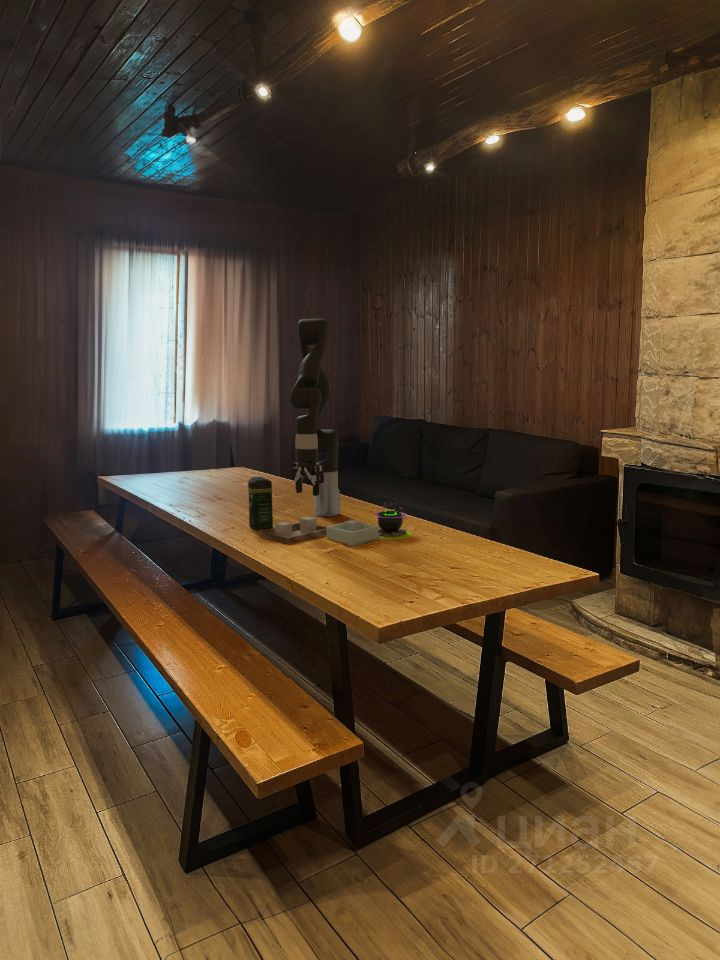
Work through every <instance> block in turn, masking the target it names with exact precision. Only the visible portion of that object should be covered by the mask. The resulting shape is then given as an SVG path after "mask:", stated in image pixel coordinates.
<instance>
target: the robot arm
mask: <svg viewBox="0 0 720 960" xmlns="http://www.w3.org/2000/svg"><path fill="white" fill-rule="evenodd" d="M330 332H331V331H330V325H329V322H328V320H327V319H326V318H306V319H305V318H304V319H300V320H299V321H298V324H297V338H298V344H299V348H300V349H299V350H300V355H301V362H300V365H299V369H298V370H299V371H298V377H297V380H296V382H295V384H294V385H293V386H292V389H291V391H290V395H289V403H290V405H291V406H292V408H294V409H298V410H299V409H300V410H301V409H303V410H305V409H306V410H307V414H305V415H300V416H297V417H296V419H295V434H296V435H295V443H294V444H295V461H296V462H291V464H290V479H291V480H292V481H294V483H295V492H296V494H301V493H303V482H302V481H303V480H304V478H305V477H306V478H308V479H309V480H310V481H311V483H312V495H313V501H314V502H313V503H314V504H313V505H314V508H313V509H314V516H317V517H327V518H328V517H335V516H338V515H339V514H341V490H340V489H339V481H338V480H339V476H338V475H339V474H338V473H339V472H338V470H339V469H338V466H339V433H338V432H337V430H335V429H331V428H330V429H329V428H328V429H327V428H326V429H324V428H323V429H320V427H319V424H320V422H319V421H320V417H321V416H322V413H323V412H324V410H325V408H326V406H327V405H328V402H329V401H330V398H331V390H330V389H331V387H330V379H329V376H328V375H327V373H326V372H325V370H323V368H322V362H323V359H324V356H325V353H326V350H327V347H328V345H329V340H330ZM311 346H314V347H313V349H311ZM319 454H327V457H326V458H325V459H323V460H321V461H319ZM317 461H318V462H317Z"/></svg>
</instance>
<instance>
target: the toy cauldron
mask: <svg viewBox="0 0 720 960" xmlns="http://www.w3.org/2000/svg"><path fill="white" fill-rule="evenodd" d="M384 504H387V502H384ZM395 505H397V503H396V502H395ZM388 506H392V503H389V504H388ZM381 507H384V505H382V506H379V507H378V508H379V509H381ZM385 508H387V506H385ZM401 509H403V508H402V507H400V510H401ZM374 516H375V517H377V524H378V525H377V526H378V534H379V540H389V541H390V540H391V541H392V540H395V541H397V540H404V539H408V538H410V537H412V536H413V533H412V532H411V531H408V530H406V529H402V526H403V523H404V521H403V520H404V519H407V513H405V512H401V511H398V510H395V509H394V508H393V509H392V510H387V509H384V510H382V511H378V512H375V513H374Z"/></svg>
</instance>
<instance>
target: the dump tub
mask: <svg viewBox="0 0 720 960" xmlns="http://www.w3.org/2000/svg"><path fill="white" fill-rule="evenodd" d="M326 527H327V535H326V539H327V540H331V541H336V542H339V543H343V544H344V545H346V546H349V547H356V546H360V545H363V544H367V543H371V542H375V541H378V540H380V539H379V534H378V530H379V525H375V524H370V523H364V522H361V530H358V531H354V532H351V531H347V530H344V522H342V523H336V524H333V525H327V526H326Z"/></svg>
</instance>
